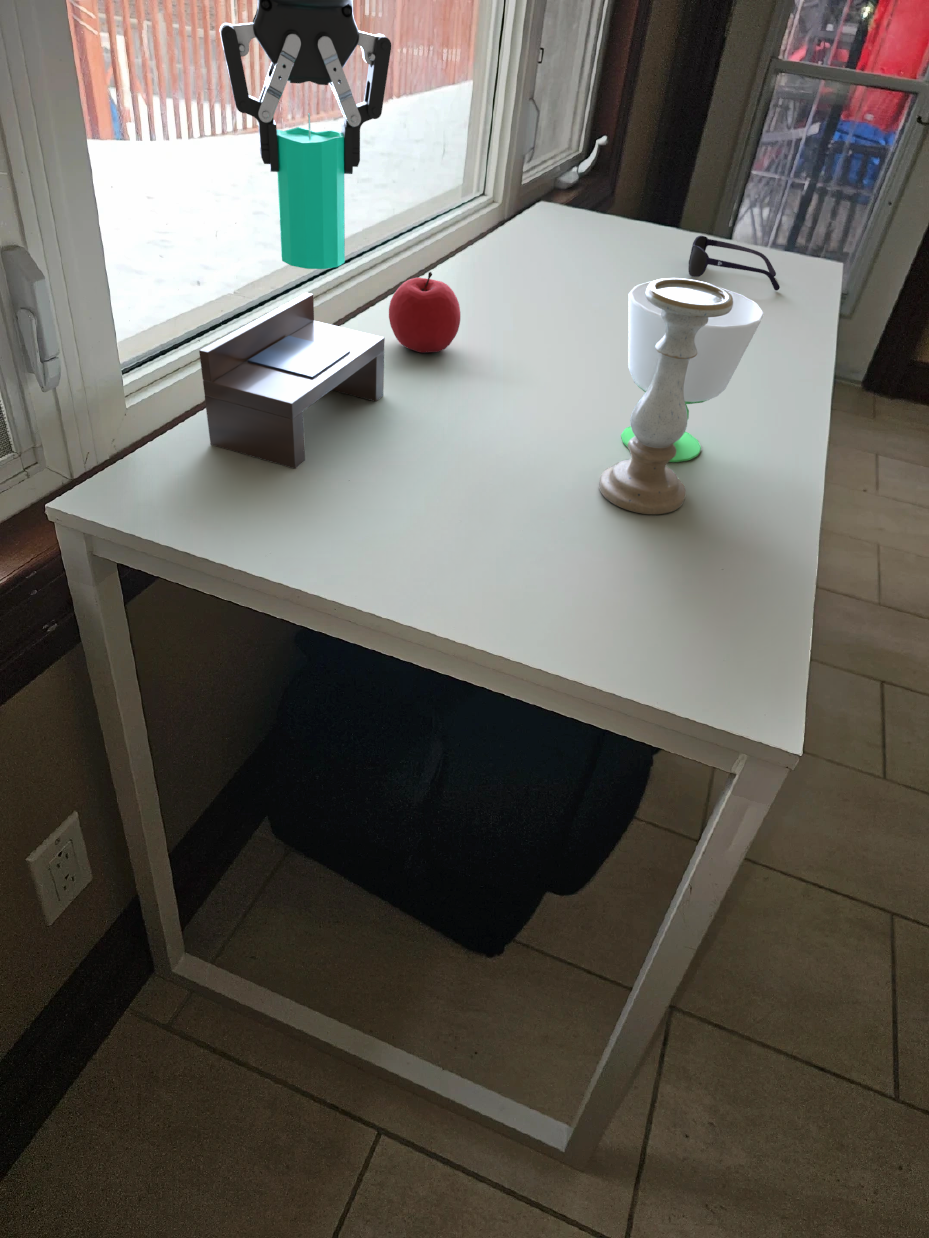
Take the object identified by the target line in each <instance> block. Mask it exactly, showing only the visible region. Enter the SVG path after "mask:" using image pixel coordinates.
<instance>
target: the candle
mask: <svg viewBox="0 0 929 1238" xmlns="http://www.w3.org/2000/svg"><path fill="white" fill-rule="evenodd" d="M307 115H308V116H307V118H308V128H305V127H304V128H303V127H301V126H297V127H293V128H289V129H286V130H281V129H277V147H278V166H279V172H276V173H277V192H278V193H277V195H278V215H279V234H280V235H279V236H280V254H281V261H282V262H284V263H285V264H287V265H290V266H291V267H296V268H300V269H306V270H328V269H334V268H339V267H341V265H344V264H345V263H346V261H345V260H346V255H345V254H346V252H345V251H346V249H345V246H346V245H345V243H346V242H345V241H346V239H345V235H346V234H345V233H346V231H345V229H346V227H345V225H346V224H345V219H346V217H345V174H344V136H343V134H342V133H341V131H337V130H332V129H331V130H323V131H322V130H321V131H314V130H311V112H307Z"/></svg>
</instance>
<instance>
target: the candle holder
mask: <svg viewBox="0 0 929 1238" xmlns="http://www.w3.org/2000/svg"><path fill="white" fill-rule="evenodd" d="M652 281H653V282H651V283H650V284H649V286H648V287H647V289H646V293H645V296H646V299H647V300H648V301H649V302H650V303H651V304H653V305H654V306H656V307H658V308H660V309H662V311H661V317H662V319H663V320H664V322H665V326H666V331H665V334H664V336H663V337H662V338H661V340H660V341H659V342H658V343H657V344H656V345H655V348H656V350H657V351H658V352H659V359H658V363H657V367H656V371H655V374H654V377H653V380H652V382H651V384H650V386H649V388H648V389H647V391H646V392H644V393H643V395H642V396H641V397H640V398H639V400H638V401H637V403H636V404H635V406H634V407H633V409H632V411H631V414H630V419H629V423H630V425H629V426H631V429H632V431H633V433H634V435H635V437H633V438H631V439H630V440H629V442H628V447H627V449H628V451H629V452H630V456H631V458H629V459H627V458H626V459H624V460H621V461H619V462H617V463H616V464H615V465H611V466H609V467H607V468H606V469H604V470H603V471H602V472H601V474H600V478H599V483H598V488H599V491H600V493H601V495H602V496H603V497H604V498H605V499H606V500H607V501H608V502H610V503H611V504H613V505H615V506H616V507H619V508H621V509H623V510H627V511H629V512H632V513H633V512H634V513H637V514H643V515H664V514H669V513H671V512H674V511H677V510H678V509H679V508H681V507H682V505H683V504H684V501H685V499H686V496H687V489H686V487H685V485H684V483H683V481H681V479H680V478H679V477H678V475H677V473H676V472H675V471H674V470H673V469H672V468H670V467H669V466H667V464H668V463H670V462H669V461H670V460H671V459H672V458H674V457H675V455H676V447H675V446H674V443H675V442H676V441H678V440H679V439H680V438H681V437H682V436H683V434H684V433H685V432H687V431H686V430H687V427H688V421H687V409H686V405H687V404H685V399H684V382H685V376H686V372H687V367H688V364H689V361H690V358H694V357H695V356H696V355H697V353H698V352H697V348H696V345H695V341H694V339H695V335H696V333H697V332H698V330H699V329H700V328H702V327H703V326H705V325H706V324H707V322H708V319H709V317H718V316H722V315H725V314H727V313H729V312H730V311H731V309H732V307H733V298H732V296H731V294H730V293H729V292H727V291H726V290H724V289H725V288H724V289H722V288H723V287H721V286H718V285H715V284H712V283H709V282H705V281H700V280H696V279H692V278H691V279H690V278H681V277H680V278H679V277H667V278H659V279H656V280H652ZM720 287H721V288H720Z"/></svg>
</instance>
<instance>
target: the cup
mask: <svg viewBox="0 0 929 1238" xmlns="http://www.w3.org/2000/svg"><path fill="white" fill-rule="evenodd" d="M653 281H654V280H650V281H647V282H643V283H640V284H635V286H633V288H632V289H631V290H630V291H629V292H628V295H627V296H628V300H627V301H628V302H627V303H628V306H627V307H628V309H627V310H628V313H627V314H628V315H627V316H628V318H627V319H628V320H627V321H628V323H627V324H628V325H627V327H628V328H627V329H628V330H627V335H628V336H627V352H628V353H627V359H628V360H627V367H628V370H629V373H630V376H631V378H632V380H633V383H634V384H635V385H636V386H637V387H638V389H640V390H641V391H643V392H644V393H645V392H646V391H647V389H648V388H649V386H650V384H651V382H652V380H653V377H654V374H655V371H656V367H657V363H658V359H659V352H658V351H657V350H656V348H655V345H656V344H657V343H658V342H659V341H660V340H661V338H662V337H663V336H664V334H665V331H666V326H665V322H664V320H663V319H662V317H661V311H662V309H660V308H658V307H656V306H654V305H653V304H651V303H650V302H649V301H648V300H647V299H646V296H645V293H646V289H647V287H648V286H649V284H650V283H651V282H653ZM719 287H720V288H722V289H724V290H726V291H727V292H729V293H730V294H731V296H732V298H733V307H732V309H731V311H730V312H729V313H727V314H725V315H722V316H718V317H709V319H708V322H707V324H706V325H705V326H703V327H702V328H700V329H699V330H698V332H697V333H696V335H695V339H694V341H695V345H696V348H697V352H698V353H697V355H696V356H695V357H694V358H690V361H689V364H688V367H687V372H686V376H685V382H684V399H685V404H686V409H687V422H689V421H688V420H689V418H690V417H689V416H690V410H689V408H688V405H692V404H701V403H704V402H707V401H710V400H712V399H715V398H716V397H718V396H719V395H720V394H722V393H723V392H724V391H725V390H726V389H727V387H728V385H729V383H730V381H731V379H732V377H733V375H734V374H735V371H736V370H737V368H738V366H739V364H740V362H741V361H742V358H743V356H744V354H745V352H746V351H747V349H748V347H749V345H750V343H751V341H752V340H753V337H754V335H755V333H756V332H757V330H758V328H759V327H760V324H761V322H762V320H763V318H764V315H765V312H764V311H763V310H762V308H761V307H760V306H759V304H758V303H757V302H756V301H754V300H753V299H751V298H748V296H747V297H746V296H745V295H743V294H742V293H739V292H735V291H732V290H729V289H727V288H724V287H721V286H719ZM633 437H635V435H634V433H633V431H632V429H631V425H629V426H628V427H626V428H624V429H623V431H622V432H621V434H620V438H621V440H622V444H623V445H624V446H626V447H627V448H628V442H629V440H630V439H631V438H633ZM674 446H675V447H676V455H675V457H674V458H672V459H671V460H670V461H669V462H668V463H681V462H687V461H690V460H693V459H694V458H696V457H698V456H699V454H700V452H701V450H702V446H701V444H700V441H699V440H698V439H697V438H696V437H695V436H693V435H692V434H691V433H690V432H687V431H685V433H684V434H683V436H682V437H681V438H680V439H679V440H678V441H676V442H675V443H674Z"/></svg>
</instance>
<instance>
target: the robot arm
mask: <svg viewBox="0 0 929 1238" xmlns="http://www.w3.org/2000/svg"><path fill="white" fill-rule="evenodd" d="M353 1H354V0H256V3H257V5H256V11H255V14H254V17H253V19H252V22H245V23H236V24H232V23H230V22H223V23H221V24H220V27H219V35H220V40H221V45H222V49H223V54H224V59H225V64H226V68H227V73H228V77H229V82H230V86H231V91H232V97H233V102H234V104H235V108H236V110H237V111H238V112H239V113H241V114H246V115H248V116H251V117H253V118H254V119H255V120H256V121H257V124H258V141H259V156H260V158H261V160H262V162H263V165H268V169H269V172H270V173H277V172H279V166H278V147H277V130H278V127H277V123H276V121H275V119H274V115H275V113H276V110H277V107H278V105H279V102H280V99H281V97H282V96H283V94H284V91H285V88H286V86H287V83H288V82H289V83H290V84H304V83H308V82H310V83H314V84H316V85H319V86H330V88H331V91H332V92H333V95H334V97H335V99H336V101H337V104H338V107H339V109H340V111H341V114H342V116H343V122H340V130H341V131H340V132H341V133H342V134H343V136H344V175H353V174H354V173H353V172H354V168H358V167H359V165H360V161H361V129H362V128H361V127H362V126H363V124H364V123H365V122H368V121H371V120H377V119H379V118H380V117H381V116H382V113H383V106H384V101H385V100H384V99H385V93H386V85H387V79H388V72H389V66H390V59H391V52H392V42H391V39H390V38H388V37H387V36H385V35H384V34H382V33H376V34H372V33H368V32H365V31H361V30H359V28H358V26H357V23H356V20H355V18H354V17H355V16H354V2H353ZM254 38H255V39H256V40H257V42H258V43H259V45H260V47H261V48H262V50H263V51H264V53H265V54H266V56H267V58H268V59H269V60H270V65H269V68H268V71H267V74H266V76H265V80H264V84H263V87H262V90H261V92H260V96H259V98H256V97H255V96H252V95H250V94H249V90H248V89H249V88H248V84H247V80H246V75H245V70H244V65H243V60H242V57H246V56H248V54H249V52H250V42H251V41H252V39H254ZM357 46H359V47H360V48H361V55H362V59H363V61H364V62H365V63H366V64H368V68H367V75H366V82H365V89H364V97H363V101H361V102H358V103H356V100H355V98H354V96H353V92H352V89H351V86H350V84H349V82H348V78H347V77H346V74H345V71H344V67H345V65H346V64H347V63H348V61H349V59H350V58H351V56H352V54H353V53H354V52H355V50H356V49H357Z"/></svg>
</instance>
